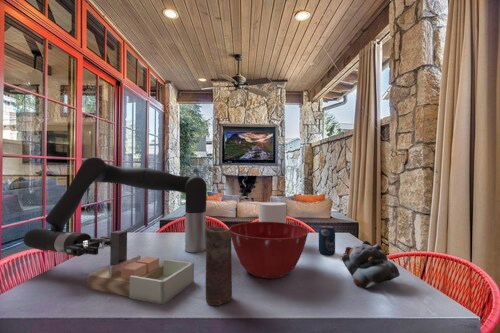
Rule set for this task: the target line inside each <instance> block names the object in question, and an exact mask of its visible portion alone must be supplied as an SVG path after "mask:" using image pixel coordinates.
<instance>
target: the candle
mask: <svg viewBox="0 0 500 333" xmlns="http://www.w3.org/2000/svg"><path fill="white" fill-rule="evenodd" d="M232 265H233V264H232V238H231V230H229V228H227V227H219V226H218V227H217V226H208V227H207V226H206V250H205V300H206V304H207V305H209V306H219V305H221V304H226V303H228V302H229V301H231V299H232V296H233V278H232V277H233V276H232V275H233V273H232V271H233V270H232V269H233V268H232Z"/></svg>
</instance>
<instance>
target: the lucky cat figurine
mask: <svg viewBox="0 0 500 333" xmlns="http://www.w3.org/2000/svg"><path fill="white" fill-rule="evenodd" d="M340 257H341V259H340V260H341V261H342V262H343V265H344V266H345V267H346V269H347V270H348V272H349V274H350V275H351V277H352V279H353V283H354V284H355V286H357V287H359V288H362V289H364V290H365V289H367V288H371V287H375V286H377V285H380V284H382V283H386V282H389V281H391V280H393V279H394V280H395V278H398V277H400V275H401V274H400V272H399V268H398V266H396V264H395V263H394V262H391V261H389V260H388V257H387V254H386V253H385V252H384V251H383V250H382V247H381V245H380V244H375V245H373V244H371V243H370V241H368V240H365V241H363V242H362V243H358V244H357V245H354V246H353V247H350V246H346V247H345V251H344V253H343V254H341V256H340Z"/></svg>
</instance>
